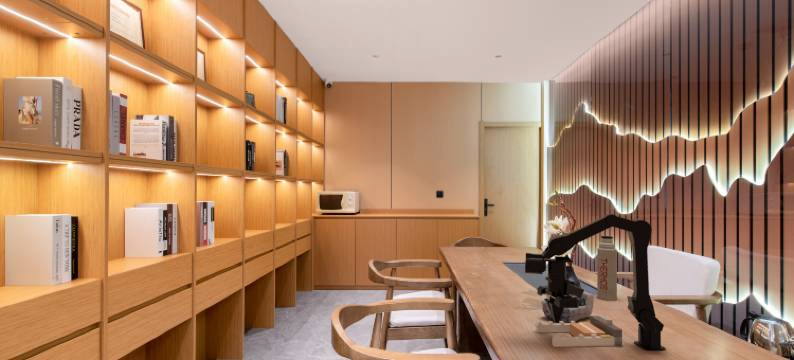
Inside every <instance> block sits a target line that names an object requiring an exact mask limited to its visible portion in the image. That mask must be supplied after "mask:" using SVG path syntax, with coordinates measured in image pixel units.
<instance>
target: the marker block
mask: <svg viewBox="0 0 794 360" xmlns="http://www.w3.org/2000/svg"><path fill="white" fill-rule="evenodd" d="M578 334H582V335H584V337H588V336H591V334H595V335H596V336H600V335H606V333H605V332H603V331H602V330H600V329H598V328H597V327H595V326H594V325H592V324H590V322H588V323H579V322H576V323H570V332H569V335H571V336H572V337H578Z"/></svg>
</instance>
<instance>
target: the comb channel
mask: <svg viewBox="0 0 794 360" xmlns="http://www.w3.org/2000/svg"><path fill="white" fill-rule="evenodd" d="M589 321H590V322H588V321H578V323H590V324H592V325H594V326H595V327H597V328H598V329H600V330H602V331H603V332H605V333H606V335H600V336H596V335H595V334H591V336H588V337H584V335H582V334H578V337H574V336H572V334H570V323H564V322H563V321H560V322H559V323H554V321H552V320H549V321H548V323H542V322H541V321H536V323H535V332H536V333H569V334H565V336H560V335H558V334H553V336H552V338H551V339H552V340H551V341H552V342H551V343H552V346H553V347H554V348H557V347H558V348H560V347H561V348H562V347H563V348H564V347H565V348H567V347H569V348H570V347H571V348H572V347H574V348H575V347H611V346H612V347H614V346H615V347H616V346H617V347H618V346H621V347H622V346H623V329H622V328H620V327H619V326H617V325H615V324H614V323H613V319H612V318H609V317H608V316H606V315H590V316H589ZM571 323H577V321H576V322H574V321H571Z"/></svg>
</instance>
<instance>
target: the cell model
mask: <svg viewBox="0 0 794 360" xmlns="http://www.w3.org/2000/svg"><path fill="white" fill-rule="evenodd" d="M565 296H566V295H565ZM570 296H572V297H574V298H576V299H577V300H578V301H579V308H564V309H563V312H562V315H561V318H560V320H559V323H560V321H563V322H564V323H571V321H574V322H576V323H577V322H579V320H584V319H586V318H587V317H590V316H592V313H593V309H594V304H595V303H594V300H595V299H594V294H593V293H590V292H587V291H584V292H583V295H582V298H578V297H577V296H574V295H572V294H570ZM541 306H542V309H541V310H542V312H543V314H544V317H546V318H548V319H550V321H554V319H553V317H552V315H551V313H550V310H549V308H548V306H547V304H546V302H545V300H541Z"/></svg>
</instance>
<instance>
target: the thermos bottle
mask: <svg viewBox="0 0 794 360" xmlns="http://www.w3.org/2000/svg"><path fill="white" fill-rule="evenodd" d="M600 238H601V239H600V241H599V243H598V247H597V249H596V251H597V253H596V256H597V257H596V258H597V260H596V261H597V264H596V265H597V266H596V268H597V269H596V271H597V273H596V274H597V283H596V286H597V287H596V289H597V292H596V293H597V294H596V295H597V299H599V300H603V301H617V300H618V255H617V254H618V249H617V248H616V244H615V243H614V241H613V240H614V236H612V235H601V236H600Z"/></svg>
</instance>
